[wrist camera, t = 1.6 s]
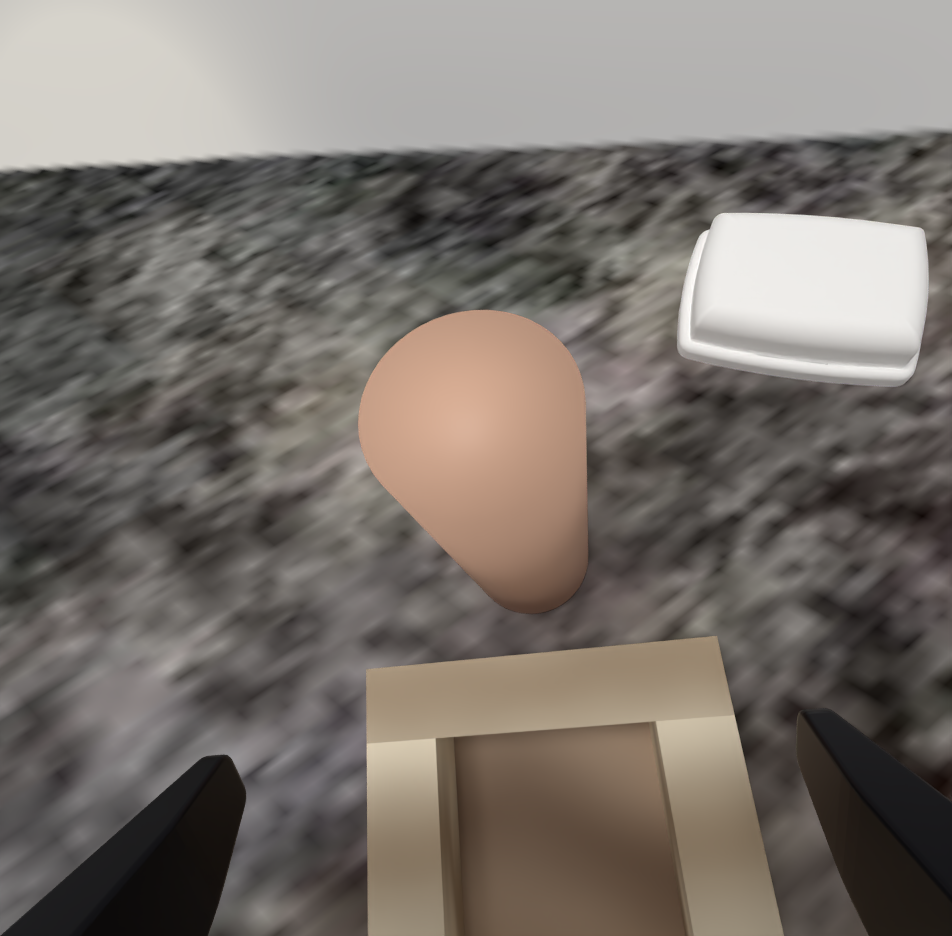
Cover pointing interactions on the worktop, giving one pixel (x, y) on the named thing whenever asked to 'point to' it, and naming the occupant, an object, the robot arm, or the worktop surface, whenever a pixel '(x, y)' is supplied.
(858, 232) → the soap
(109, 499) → the worktop surface
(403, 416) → the dowel
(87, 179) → the worktop surface
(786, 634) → the worktop surface
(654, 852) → the socket block
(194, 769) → the robot arm
